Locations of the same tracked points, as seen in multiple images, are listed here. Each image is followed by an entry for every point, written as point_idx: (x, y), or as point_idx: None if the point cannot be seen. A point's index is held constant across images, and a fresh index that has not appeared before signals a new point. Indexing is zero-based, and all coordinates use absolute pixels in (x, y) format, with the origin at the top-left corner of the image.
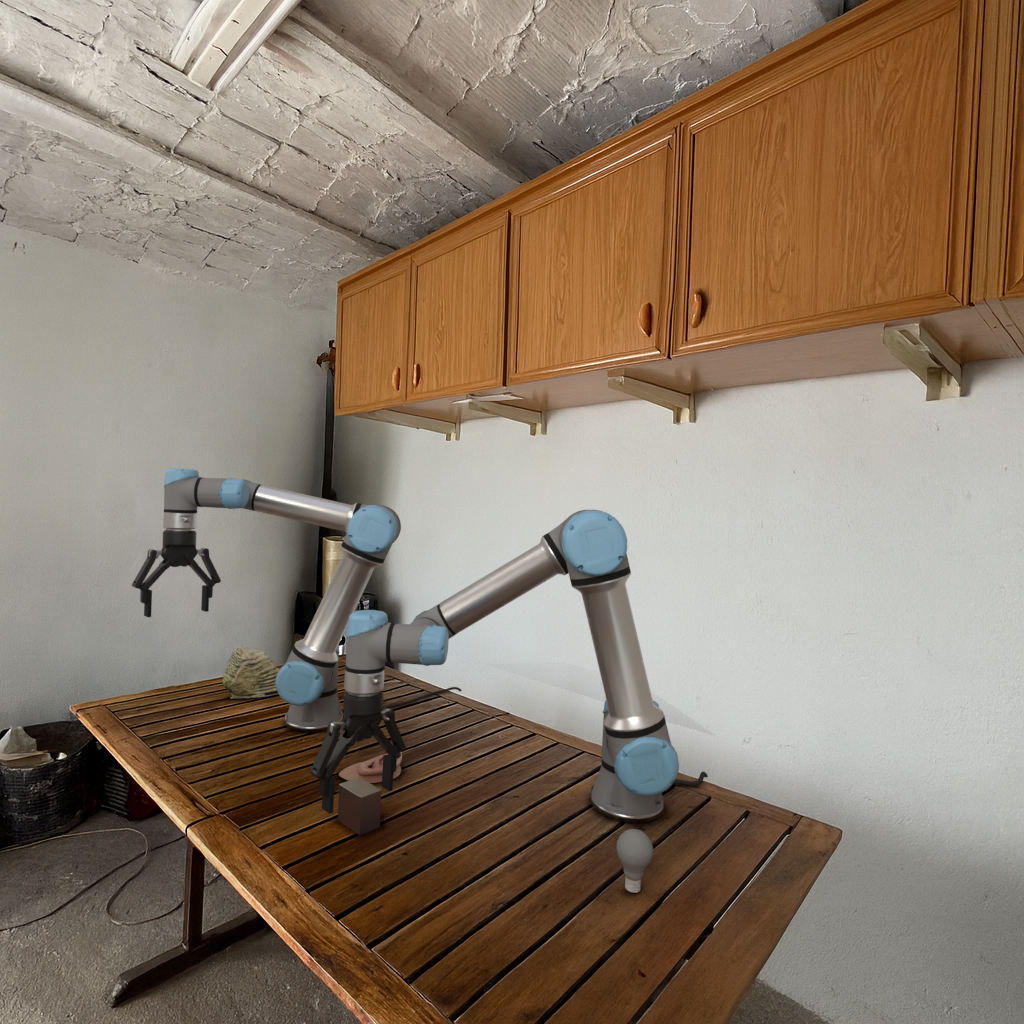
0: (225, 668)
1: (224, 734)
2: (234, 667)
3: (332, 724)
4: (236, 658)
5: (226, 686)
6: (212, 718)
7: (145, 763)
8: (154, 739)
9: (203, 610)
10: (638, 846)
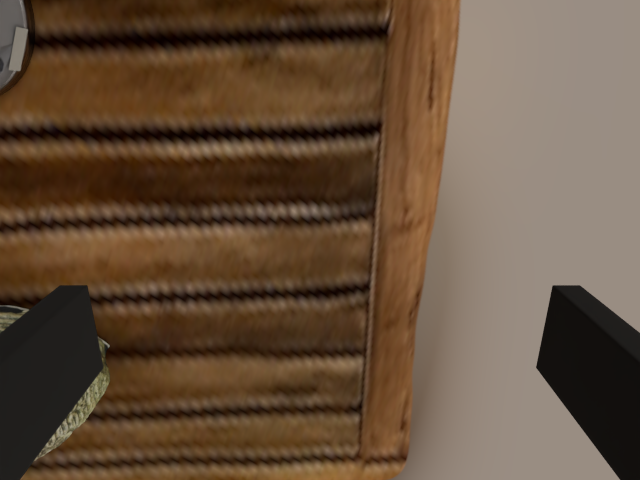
0: (79, 424)
1: (203, 98)
2: None
3: None
4: None
5: (105, 364)
6: (191, 235)
7: (429, 27)
8: (353, 180)
9: (93, 328)
10: None
